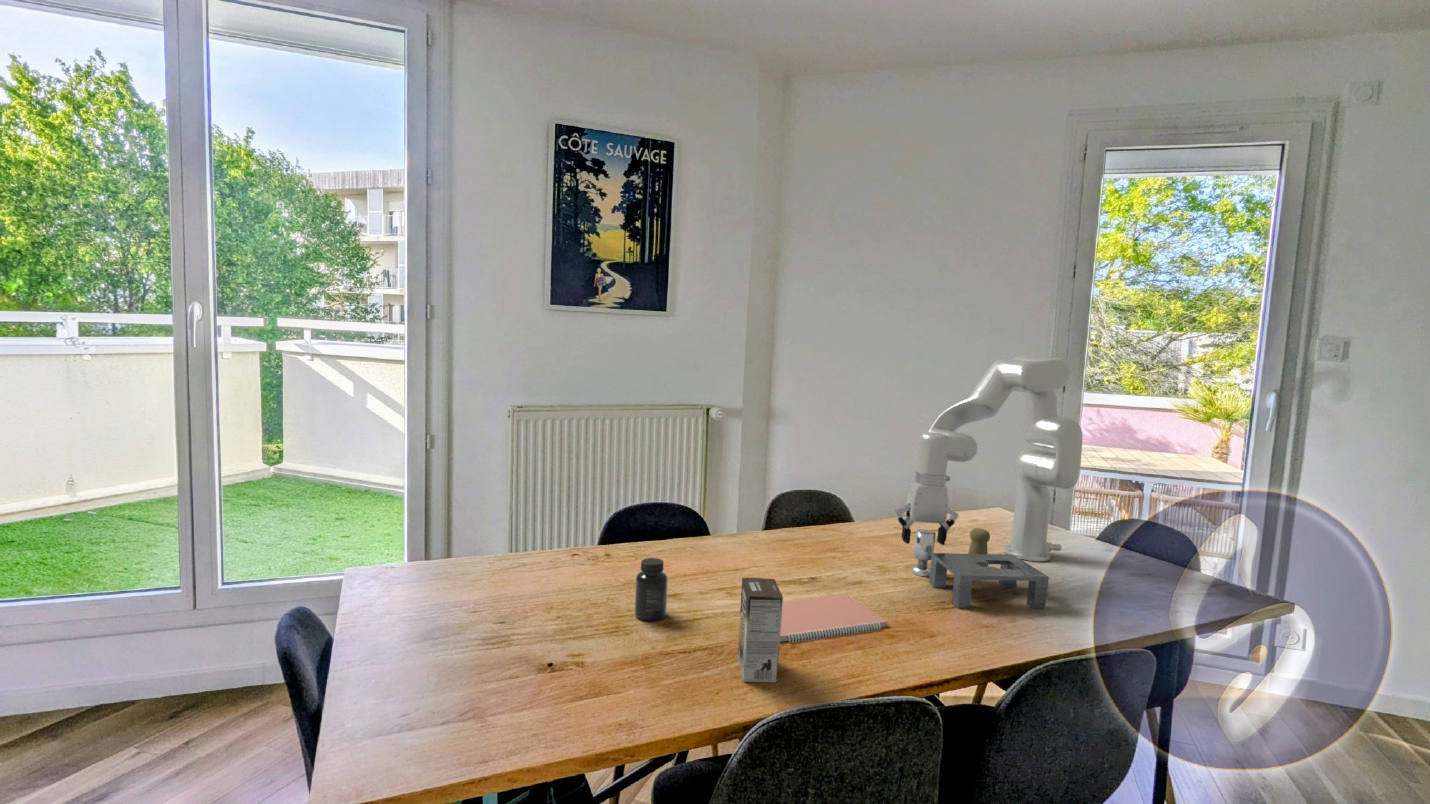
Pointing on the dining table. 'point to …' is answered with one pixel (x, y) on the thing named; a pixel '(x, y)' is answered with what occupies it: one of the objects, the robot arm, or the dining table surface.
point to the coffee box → (759, 629)
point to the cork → (979, 541)
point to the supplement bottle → (651, 590)
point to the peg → (923, 551)
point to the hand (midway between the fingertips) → (923, 542)
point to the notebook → (826, 618)
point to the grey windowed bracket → (987, 575)
